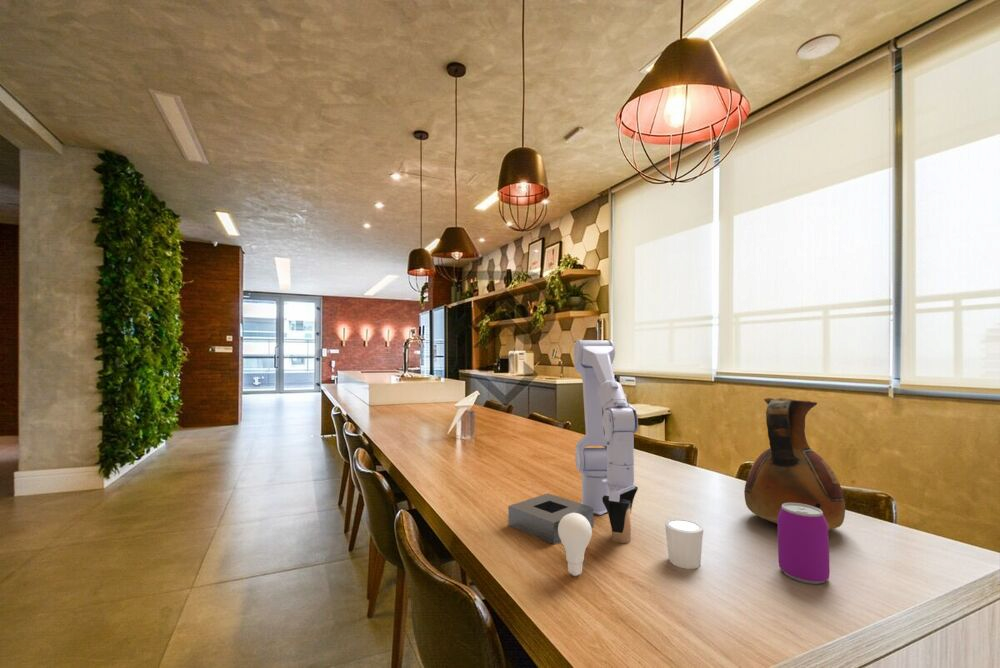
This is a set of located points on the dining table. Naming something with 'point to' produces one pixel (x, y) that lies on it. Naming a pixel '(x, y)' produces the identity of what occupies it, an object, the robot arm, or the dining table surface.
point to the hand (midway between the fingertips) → (621, 525)
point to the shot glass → (684, 543)
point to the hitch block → (545, 515)
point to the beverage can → (803, 543)
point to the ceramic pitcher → (792, 468)
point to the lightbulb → (574, 540)
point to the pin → (624, 530)
